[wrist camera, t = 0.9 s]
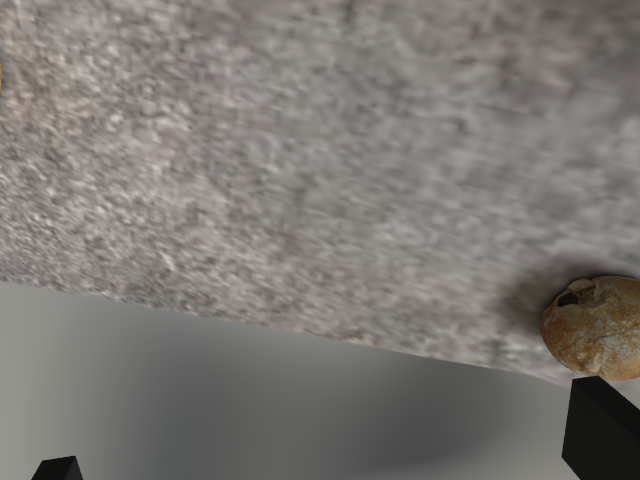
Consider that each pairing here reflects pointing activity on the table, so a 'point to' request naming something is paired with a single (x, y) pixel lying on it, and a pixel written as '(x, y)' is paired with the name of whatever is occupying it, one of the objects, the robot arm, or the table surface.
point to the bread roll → (596, 327)
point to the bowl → (0, 77)
